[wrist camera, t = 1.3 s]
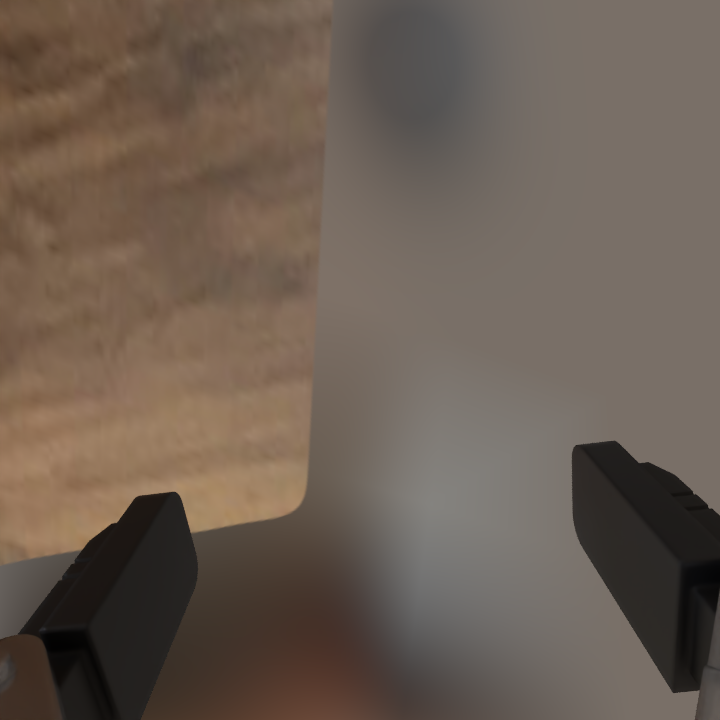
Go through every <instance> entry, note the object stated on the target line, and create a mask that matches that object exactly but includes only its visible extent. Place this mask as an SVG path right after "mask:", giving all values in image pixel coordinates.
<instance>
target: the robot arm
mask: <svg viewBox="0 0 720 720" xmlns="http://www.w3.org/2000/svg"><path fill="white" fill-rule="evenodd" d="M572 496H573V497H572V499H573V521H574V526H575V530H576V533H577V537H578V539H579V541H580V544H581V546H582V547H583V549H584V551H585V552H586V554H587V555H588V557H589V559H590V560H591V562H592V563H593V565H594V567H595V568H596V570H597V572H598V573H599V575H600V576H601V578H602V579H603V581H604V583H605V584H606V586H607V588H608V589H609V591H610V592H611V594H612V596H613V597H614V599H615V600H616V602H617V604H618V605H619V607H620V609H621V610H622V612H623V613H624V615H625V617H626V618H627V620H628V621H629V623H630V625H631V626H632V628H633V629H634V631H635V633H636V634H637V636H638V637H639V639H640V640H641V642H642V644H643V645H644V647H645V649H646V650H647V652H648V653H649V655H650V657H651V658H652V660H653V662H654V663H655V665H656V666H657V668H658V670H659V671H660V673H661V674H662V676H663V678H664V679H665V681H666V682H667V684H668V686H669V687H670V689H671V690H672V692H673V693H678V692H688V691H698V690H700V693H699V698H698V704H697V710H696V716H695V720H720V515H719V514H717V513H716V512H715V511H714V510H713V509H709V508H708V505H707V504H706V503H705V502H704V501H703V500H702V499H701V498H700V497H699V496H697V495H696V494H695V495H694V494H693V491H692V490H691V489H690V488H689V487H688V486H686V485H685V484H684V483H683V482H682V481H681V480H680V479H679V478H678V477H677V476H675V475H674V474H672V473H670V472H667V471H666V470H663V469H661V468H659V467H657V466H655V465H653V464H651V463H649V462H647V463H638V462H637V461H636V460H635V459H634V458H633V457H632V456H631V455H630V454H629V453H628V452H627V451H626V450H625V449H624V448H623V447H622V446H621V445H620V444H619V443H617V442H616V441H607V442H599V443H590V444H583V445H576V446H575V447H574V449H573V452H572ZM197 572H198V563H197V556H196V552H195V548H194V544H193V540H192V537H191V533H190V529H189V525H188V522H187V518H186V514H185V510H184V507H183V503H182V500H181V498H180V496H179V495H178V493H176V492H168V493H159V494H151V495H142V496H138V497H136V498H135V499H134V500H133V502H132V503H131V504H130V506H129V507H128V509H127V510H126V511H125V513H124V514H123V515H122V517H121V518H120V520H119V521H118V522H117V523H113V524H111V525H109V526H108V527H107V528H106V529H104V530H103V531H102V532H100V533H99V534H98V535H97V536H95V537H94V538H93V539H91V540H90V541H89V542H88V543H87V545H86V546H85V547H84V549H83V550H82V551H81V553H80V554H79V555H78V556H77V558H76V559H75V564H71V566H70V567H69V569H68V570H67V571H66V572H65V573H64V575H63V576H62V580H60V581H58V583H57V584H56V585H55V587H54V588H53V589H52V590H51V592H50V593H49V594H48V596H47V597H46V598H45V600H44V601H43V602H42V603H41V605H40V606H39V607H38V609H37V610H36V611H35V613H34V614H33V615H32V616H31V618H30V619H29V621H28V622H27V623H26V624H25V626H24V627H23V628H22V629H21V631H20V632H19V633H18V635H14V636H10V637H6V638H3V639H0V720H141V717H142V715H143V712H144V710H145V708H146V705H147V703H148V700H149V698H150V695H151V693H152V691H153V688H154V686H155V683H156V680H157V678H158V676H159V673H160V671H161V669H162V666H163V664H164V661H165V659H166V657H167V654H168V652H169V649H170V647H171V644H172V642H173V639H174V637H175V635H176V632H177V630H178V627H179V625H180V622H181V620H182V617H183V615H184V613H185V610H186V608H187V606H188V603H189V601H190V598H191V596H192V594H193V591H194V589H195V585H196V581H197V574H198V573H197Z"/></svg>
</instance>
